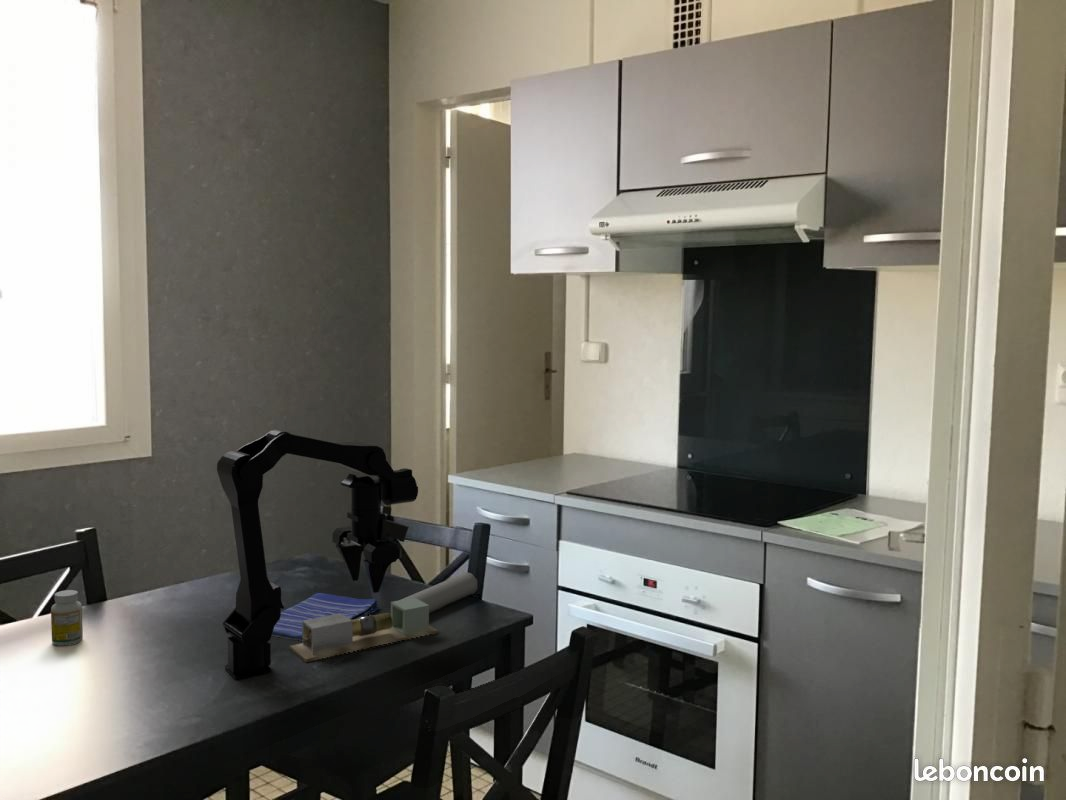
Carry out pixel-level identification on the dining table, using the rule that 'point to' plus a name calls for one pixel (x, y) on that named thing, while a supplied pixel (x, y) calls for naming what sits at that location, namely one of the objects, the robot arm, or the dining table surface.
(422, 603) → the socket
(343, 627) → the sleeve
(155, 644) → the dining table surface
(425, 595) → the tube
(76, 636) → the supplement bottle
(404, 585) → the dining table surface
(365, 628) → the tube
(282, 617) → the dish towel
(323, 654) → the mounting board
